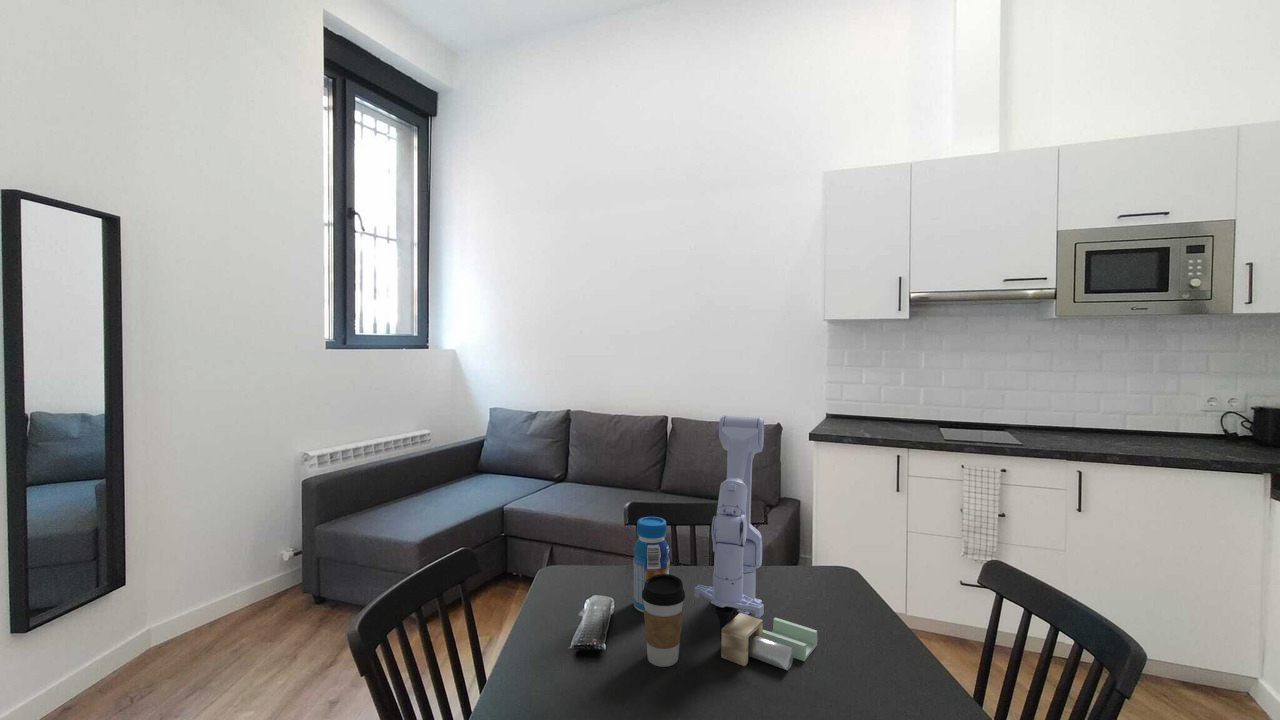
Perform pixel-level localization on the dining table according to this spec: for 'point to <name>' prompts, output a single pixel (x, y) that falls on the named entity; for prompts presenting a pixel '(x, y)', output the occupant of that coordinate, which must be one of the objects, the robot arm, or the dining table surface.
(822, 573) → the dining table surface
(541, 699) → the dining table surface
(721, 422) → the robot arm
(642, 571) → the beverage bottle
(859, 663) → the dining table surface
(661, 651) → the coffee cup
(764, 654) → the axle
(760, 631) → the wooden bridge block
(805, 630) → the cradle
